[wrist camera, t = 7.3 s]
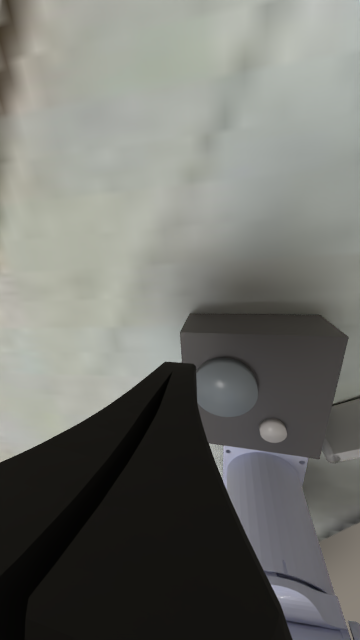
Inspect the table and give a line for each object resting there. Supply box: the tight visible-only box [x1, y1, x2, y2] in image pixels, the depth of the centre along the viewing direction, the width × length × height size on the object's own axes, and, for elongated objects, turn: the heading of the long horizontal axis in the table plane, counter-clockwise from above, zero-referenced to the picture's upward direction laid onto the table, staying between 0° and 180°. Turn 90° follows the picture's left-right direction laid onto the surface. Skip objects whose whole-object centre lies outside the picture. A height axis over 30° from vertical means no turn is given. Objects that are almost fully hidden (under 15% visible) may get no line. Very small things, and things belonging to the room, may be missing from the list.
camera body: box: [180, 314, 348, 459], centre depth 16 cm, size 10×10×5 cm
